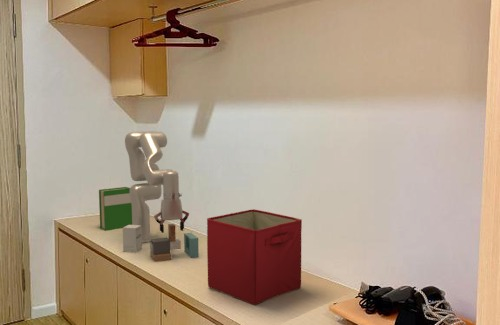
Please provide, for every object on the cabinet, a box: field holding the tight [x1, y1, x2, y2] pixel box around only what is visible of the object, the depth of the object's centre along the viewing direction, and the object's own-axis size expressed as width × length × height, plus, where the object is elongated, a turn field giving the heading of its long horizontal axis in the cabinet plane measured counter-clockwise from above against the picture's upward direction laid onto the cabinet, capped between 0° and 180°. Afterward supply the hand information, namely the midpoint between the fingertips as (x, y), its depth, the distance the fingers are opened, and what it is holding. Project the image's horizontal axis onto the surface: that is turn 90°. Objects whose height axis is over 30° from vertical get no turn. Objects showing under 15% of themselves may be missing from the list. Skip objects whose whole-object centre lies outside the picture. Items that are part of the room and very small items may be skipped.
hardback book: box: [98, 186, 132, 232], centre depth 316 cm, size 18×7×24 cm, turn 130°
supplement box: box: [122, 225, 143, 253], centre depth 265 cm, size 7×7×13 cm
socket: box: [183, 232, 199, 259], centre depth 257 cm, size 12×4×10 cm, turn 23°
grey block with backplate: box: [149, 236, 172, 263], centre depth 251 cm, size 10×8×9 cm
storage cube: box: [206, 208, 303, 306], centre depth 207 cm, size 32×28×29 cm
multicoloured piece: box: [149, 223, 182, 252], centre depth 251 cm, size 4×14×12 cm, turn 113°
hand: (172, 231), depth 252 cm, fingers open, 9 cm apart
